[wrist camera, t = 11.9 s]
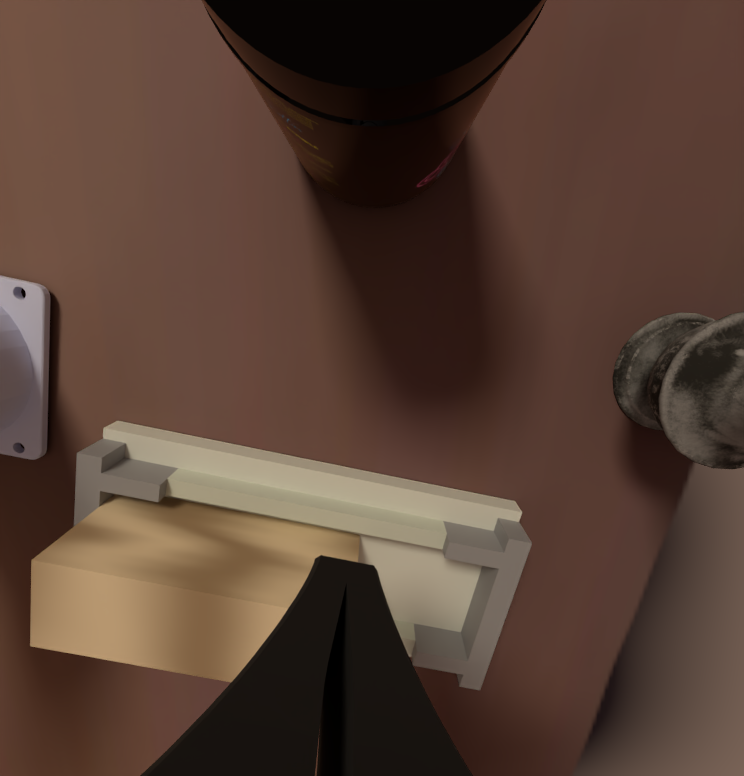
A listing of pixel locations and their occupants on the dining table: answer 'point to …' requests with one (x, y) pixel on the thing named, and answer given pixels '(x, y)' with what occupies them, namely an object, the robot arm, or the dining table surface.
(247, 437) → the dining table surface
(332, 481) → the cream rectangular tray
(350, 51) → the supplement container
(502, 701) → the dining table surface
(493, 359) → the dining table surface
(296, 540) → the tan wooden block
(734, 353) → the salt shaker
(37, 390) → the robot arm
